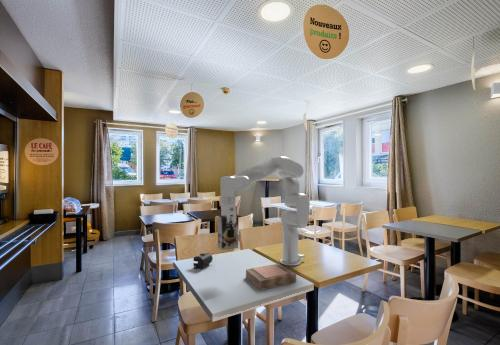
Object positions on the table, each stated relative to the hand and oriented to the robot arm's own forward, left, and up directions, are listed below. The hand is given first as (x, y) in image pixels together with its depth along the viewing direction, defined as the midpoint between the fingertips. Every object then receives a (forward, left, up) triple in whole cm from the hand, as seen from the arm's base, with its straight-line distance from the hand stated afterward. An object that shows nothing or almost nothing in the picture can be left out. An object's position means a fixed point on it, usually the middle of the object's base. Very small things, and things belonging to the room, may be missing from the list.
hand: (228, 235), depth 127 cm
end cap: (+6, -24, -23) cm, 34 cm away
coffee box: (0, 0, -6) cm, 6 cm away
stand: (-20, +9, -22) cm, 31 cm away
